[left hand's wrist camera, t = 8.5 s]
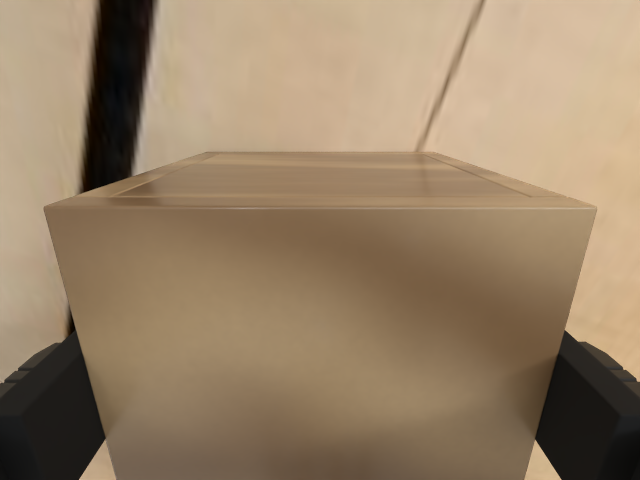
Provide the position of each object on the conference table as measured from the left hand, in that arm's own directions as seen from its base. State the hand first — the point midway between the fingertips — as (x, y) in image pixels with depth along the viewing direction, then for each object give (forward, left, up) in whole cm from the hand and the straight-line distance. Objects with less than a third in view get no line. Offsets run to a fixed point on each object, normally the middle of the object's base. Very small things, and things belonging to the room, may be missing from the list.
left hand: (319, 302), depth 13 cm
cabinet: (+3, -2, -6) cm, 7 cm away
